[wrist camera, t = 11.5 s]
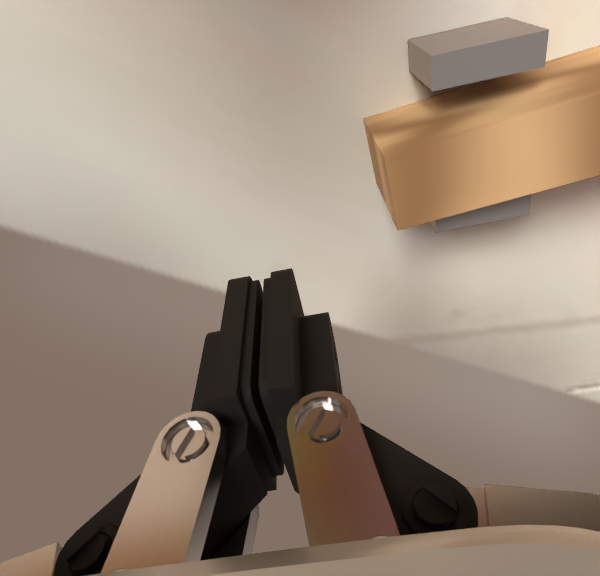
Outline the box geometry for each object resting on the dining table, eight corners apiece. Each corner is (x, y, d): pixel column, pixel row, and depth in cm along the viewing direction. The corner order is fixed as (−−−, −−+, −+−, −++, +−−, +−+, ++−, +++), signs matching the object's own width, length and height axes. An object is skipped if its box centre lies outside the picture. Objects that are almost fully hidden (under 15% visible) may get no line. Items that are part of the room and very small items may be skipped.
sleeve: (415, 197, 23) (436, 232, 20) (407, 39, 19) (431, 55, 16) (496, 181, 23) (528, 214, 20) (506, 17, 19) (548, 29, 16)
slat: (375, 180, 23) (397, 230, 19) (362, 116, 21) (384, 157, 17) (725, 78, 21) (833, 110, 17) (744, -2, 19) (872, 13, 15)
